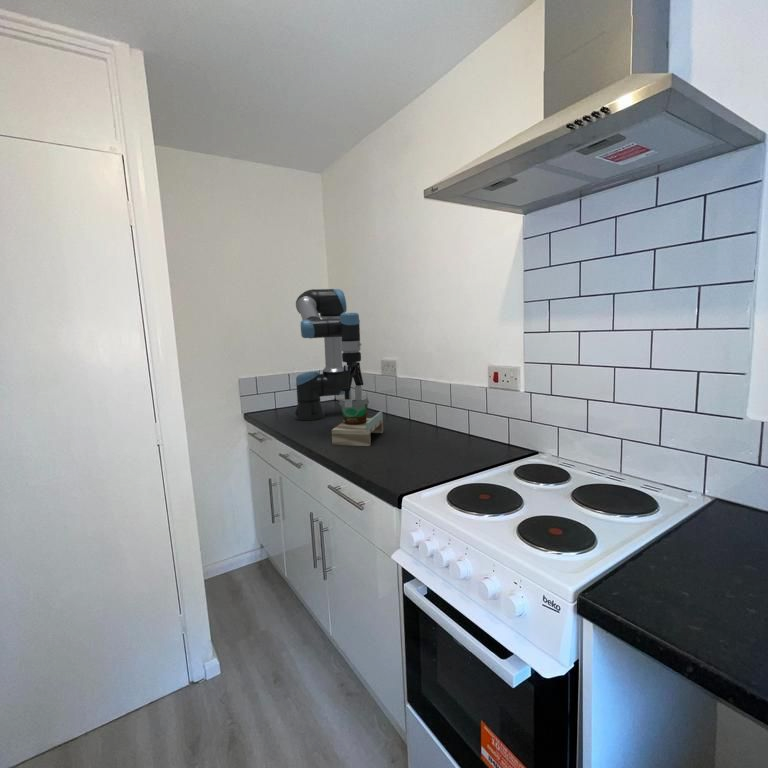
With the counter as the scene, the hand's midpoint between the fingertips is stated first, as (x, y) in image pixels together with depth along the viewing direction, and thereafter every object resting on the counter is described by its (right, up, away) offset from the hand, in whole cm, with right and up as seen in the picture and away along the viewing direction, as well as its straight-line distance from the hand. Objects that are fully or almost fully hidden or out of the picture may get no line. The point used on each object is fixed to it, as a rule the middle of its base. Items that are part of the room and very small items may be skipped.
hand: (353, 404), depth 170 cm
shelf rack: (+2, -14, +1) cm, 14 cm away
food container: (0, -8, +1) cm, 8 cm away
